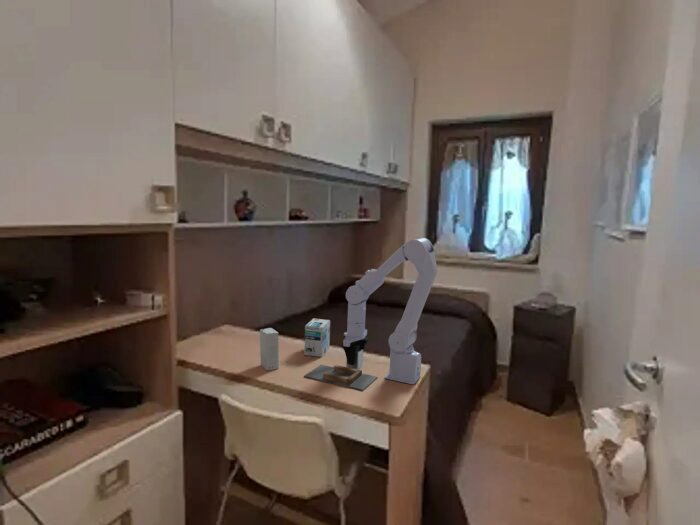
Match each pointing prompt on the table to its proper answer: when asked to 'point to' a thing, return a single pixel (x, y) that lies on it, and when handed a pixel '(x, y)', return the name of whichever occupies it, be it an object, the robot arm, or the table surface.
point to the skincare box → (269, 349)
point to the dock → (342, 376)
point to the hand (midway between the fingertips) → (354, 361)
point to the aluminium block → (357, 360)
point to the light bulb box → (317, 337)
